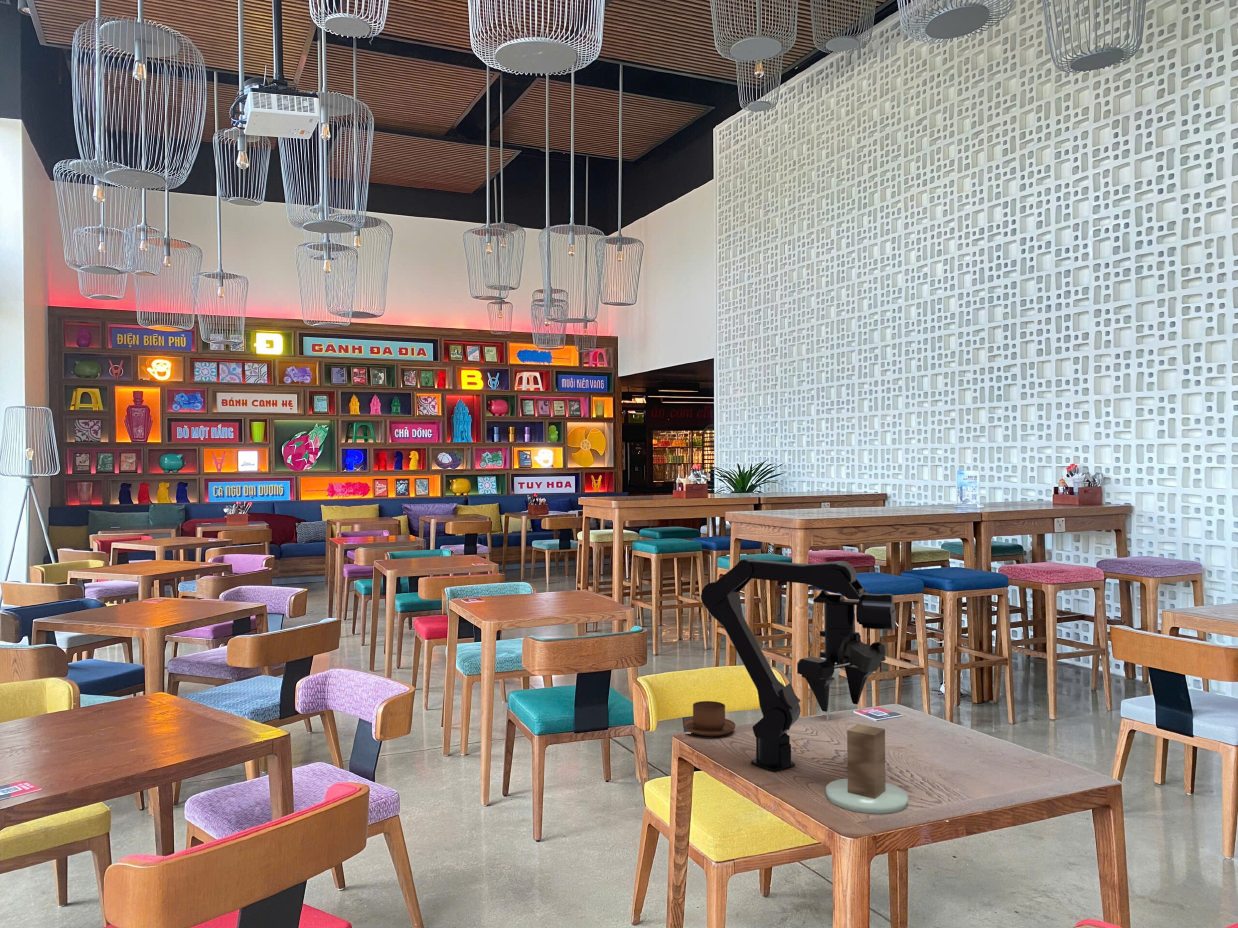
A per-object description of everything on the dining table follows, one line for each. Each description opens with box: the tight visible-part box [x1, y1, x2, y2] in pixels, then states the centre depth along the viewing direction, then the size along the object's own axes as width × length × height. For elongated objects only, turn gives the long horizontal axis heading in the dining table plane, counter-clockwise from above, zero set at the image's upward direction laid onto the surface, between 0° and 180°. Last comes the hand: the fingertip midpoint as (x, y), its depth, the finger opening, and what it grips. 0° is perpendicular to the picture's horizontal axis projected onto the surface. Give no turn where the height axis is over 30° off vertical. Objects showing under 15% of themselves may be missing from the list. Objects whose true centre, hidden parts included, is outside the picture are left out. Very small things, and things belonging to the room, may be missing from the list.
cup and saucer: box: [682, 700, 736, 737], centre depth 189 cm, size 12×12×6 cm
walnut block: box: [846, 723, 886, 799], centre depth 148 cm, size 5×5×11 cm
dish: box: [825, 777, 909, 815], centre depth 148 cm, size 14×14×1 cm
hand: (840, 707), depth 160 cm, fingers open, 9 cm apart
